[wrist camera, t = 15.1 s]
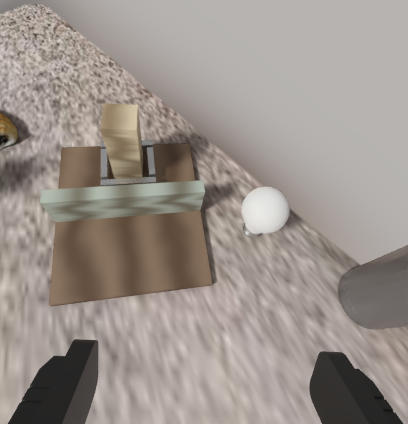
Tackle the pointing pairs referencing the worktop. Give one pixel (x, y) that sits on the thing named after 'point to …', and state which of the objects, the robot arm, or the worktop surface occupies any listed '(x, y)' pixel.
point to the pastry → (7, 132)
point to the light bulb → (264, 211)
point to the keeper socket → (146, 148)
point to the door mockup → (126, 228)
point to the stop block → (123, 139)
